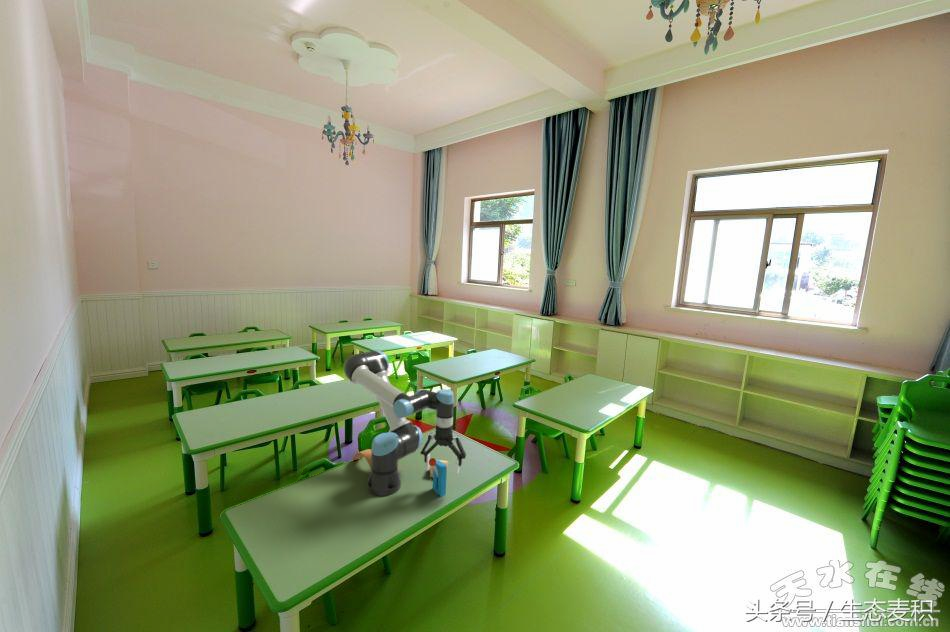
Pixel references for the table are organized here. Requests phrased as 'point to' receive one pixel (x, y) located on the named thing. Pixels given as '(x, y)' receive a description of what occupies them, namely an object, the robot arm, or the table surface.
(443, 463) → the oak block
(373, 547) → the table surface
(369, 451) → the arch
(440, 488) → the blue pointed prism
